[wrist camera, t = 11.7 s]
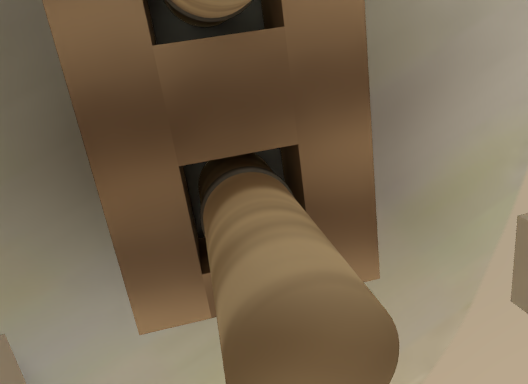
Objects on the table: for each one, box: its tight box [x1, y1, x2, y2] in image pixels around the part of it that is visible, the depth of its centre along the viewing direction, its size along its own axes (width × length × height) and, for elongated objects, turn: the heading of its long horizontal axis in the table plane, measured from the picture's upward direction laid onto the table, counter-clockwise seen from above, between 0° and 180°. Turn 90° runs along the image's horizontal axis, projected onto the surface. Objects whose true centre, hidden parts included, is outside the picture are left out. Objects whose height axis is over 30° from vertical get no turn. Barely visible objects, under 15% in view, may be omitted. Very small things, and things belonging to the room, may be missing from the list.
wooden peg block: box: [42, 0, 380, 335], centre depth 14 cm, size 20×12×14 cm, turn 8°
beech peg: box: [198, 153, 399, 384], centre depth 16 cm, size 4×4×14 cm
